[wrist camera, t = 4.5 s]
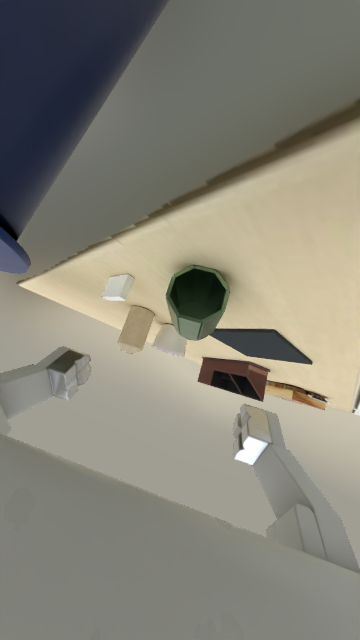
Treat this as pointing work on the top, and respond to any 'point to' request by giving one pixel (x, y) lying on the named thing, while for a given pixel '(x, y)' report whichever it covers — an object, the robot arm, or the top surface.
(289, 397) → the wooden box
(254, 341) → the mat
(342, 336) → the top surface
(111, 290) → the eraser
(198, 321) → the bucket
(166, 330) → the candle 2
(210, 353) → the top surface
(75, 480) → the robot arm
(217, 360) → the desk organizer
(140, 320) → the candle
